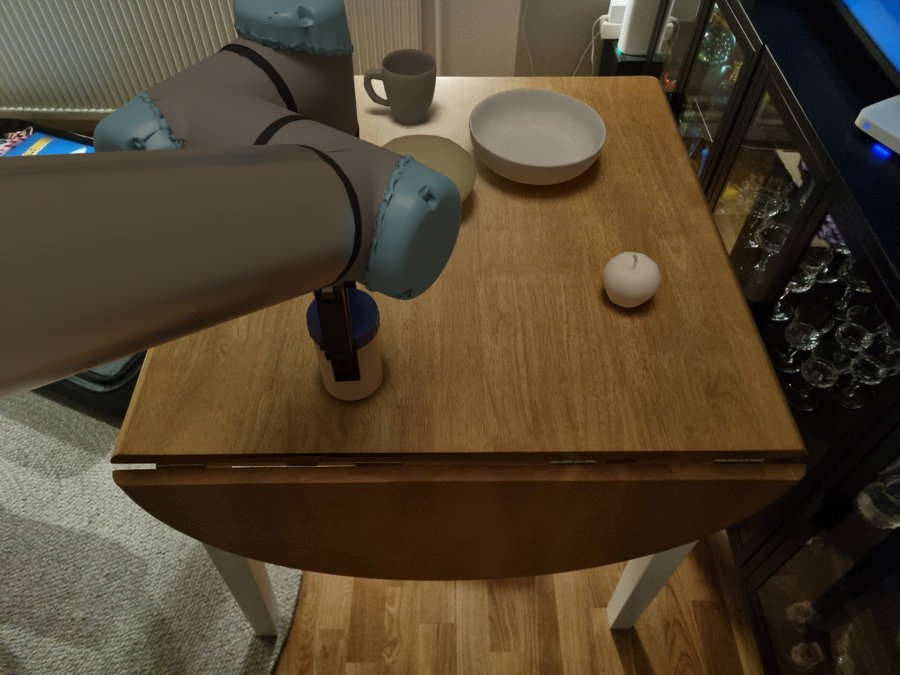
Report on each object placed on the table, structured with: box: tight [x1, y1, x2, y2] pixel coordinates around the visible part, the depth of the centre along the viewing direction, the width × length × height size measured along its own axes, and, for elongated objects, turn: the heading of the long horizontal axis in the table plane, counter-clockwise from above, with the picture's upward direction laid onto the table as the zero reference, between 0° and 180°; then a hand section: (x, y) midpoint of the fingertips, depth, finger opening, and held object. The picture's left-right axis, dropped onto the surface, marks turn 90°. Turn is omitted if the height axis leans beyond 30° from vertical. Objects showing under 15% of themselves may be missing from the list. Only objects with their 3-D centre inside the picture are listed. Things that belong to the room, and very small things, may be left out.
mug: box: [363, 48, 437, 126], centre depth 107 cm, size 12×9×10 cm
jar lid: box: [305, 287, 381, 350], centre depth 68 cm, size 8×8×2 cm
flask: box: [381, 134, 478, 203], centre depth 92 cm, size 9×16×18 cm
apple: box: [602, 251, 661, 309], centre depth 82 cm, size 7×7×8 cm
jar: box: [313, 333, 384, 401], centre depth 72 cm, size 7×7×11 cm
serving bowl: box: [468, 87, 608, 186], centre depth 101 cm, size 21×21×7 cm
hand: (348, 348), depth 72 cm, fingers closed on jar lid, 7 cm apart
